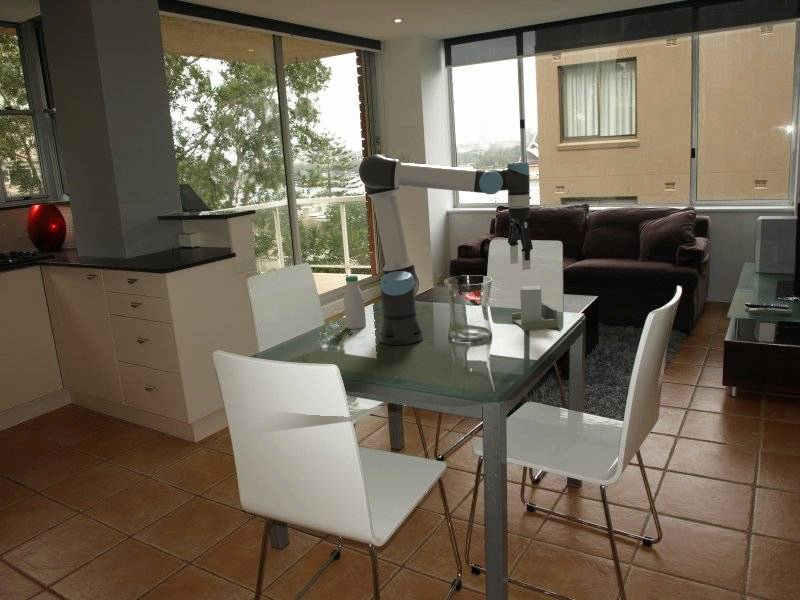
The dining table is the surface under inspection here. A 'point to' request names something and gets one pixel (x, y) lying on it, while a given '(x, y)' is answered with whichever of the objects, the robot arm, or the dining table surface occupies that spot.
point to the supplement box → (530, 303)
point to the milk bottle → (354, 304)
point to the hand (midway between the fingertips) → (520, 266)
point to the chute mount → (547, 320)
